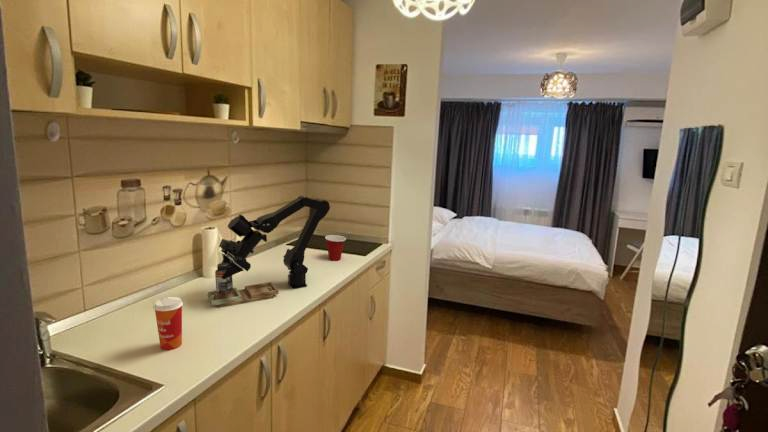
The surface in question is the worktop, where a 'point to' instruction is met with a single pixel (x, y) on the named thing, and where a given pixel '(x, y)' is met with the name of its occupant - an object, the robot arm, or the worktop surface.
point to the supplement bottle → (223, 280)
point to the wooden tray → (243, 295)
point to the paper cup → (169, 322)
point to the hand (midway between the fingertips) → (220, 276)
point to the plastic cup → (335, 246)
